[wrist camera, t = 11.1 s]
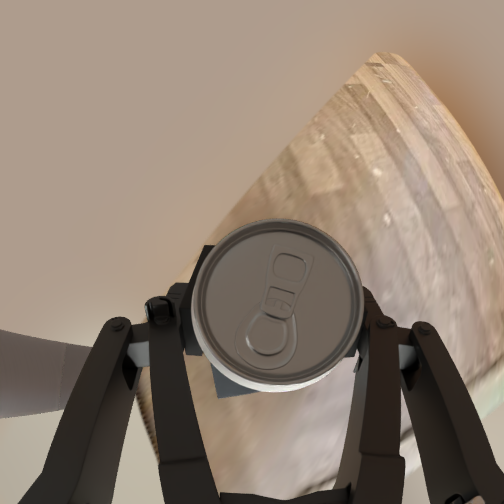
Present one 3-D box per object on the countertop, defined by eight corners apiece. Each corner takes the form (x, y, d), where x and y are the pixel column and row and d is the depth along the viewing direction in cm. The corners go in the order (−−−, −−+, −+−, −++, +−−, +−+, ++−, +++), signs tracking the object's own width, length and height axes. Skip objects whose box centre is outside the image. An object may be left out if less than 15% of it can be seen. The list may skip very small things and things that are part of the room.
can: (207, 359, 20) (152, 359, 8) (236, 276, 22) (220, 187, 11) (294, 386, 19) (347, 419, 8) (319, 302, 21) (388, 238, 10)
